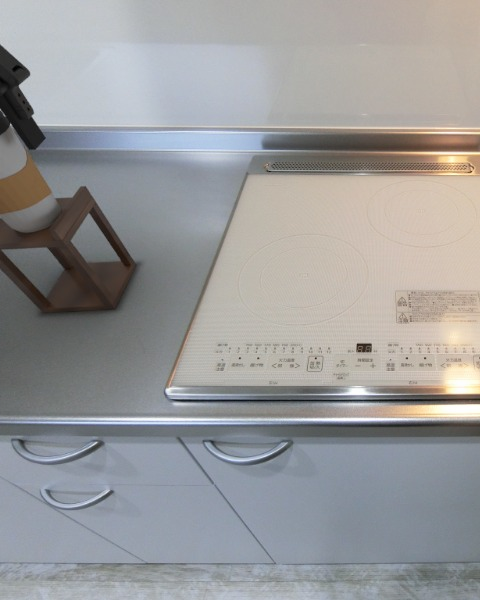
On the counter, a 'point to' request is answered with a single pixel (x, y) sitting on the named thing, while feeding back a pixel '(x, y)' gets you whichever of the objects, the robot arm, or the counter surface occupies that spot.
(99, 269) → the shelf
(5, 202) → the coffee cup
